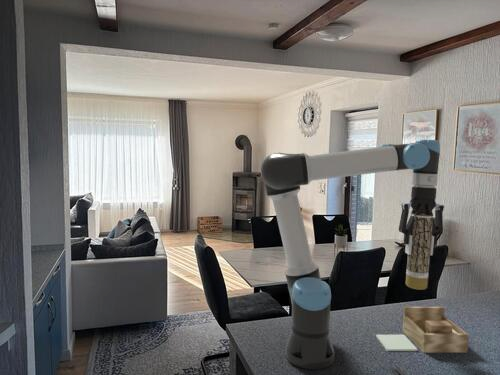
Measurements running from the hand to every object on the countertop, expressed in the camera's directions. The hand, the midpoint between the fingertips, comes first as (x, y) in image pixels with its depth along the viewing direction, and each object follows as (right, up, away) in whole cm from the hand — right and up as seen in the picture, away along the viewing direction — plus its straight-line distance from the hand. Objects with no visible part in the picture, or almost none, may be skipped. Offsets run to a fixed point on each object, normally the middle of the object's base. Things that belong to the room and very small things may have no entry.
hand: (418, 253), depth 126 cm
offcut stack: (+6, -31, -2) cm, 31 cm away
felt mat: (-8, -30, 0) cm, 31 cm away
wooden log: (0, -12, +1) cm, 12 cm away
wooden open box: (+6, -30, +2) cm, 31 cm away
